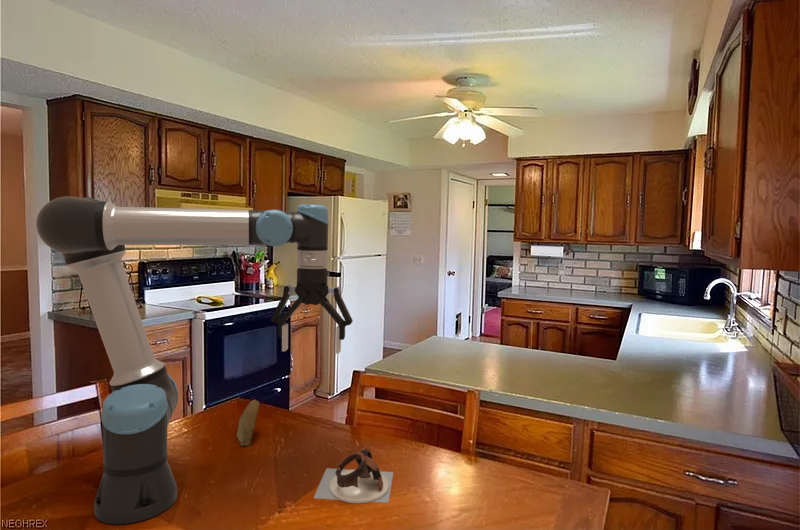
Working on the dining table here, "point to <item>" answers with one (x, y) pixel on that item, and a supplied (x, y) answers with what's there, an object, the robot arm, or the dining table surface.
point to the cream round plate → (359, 489)
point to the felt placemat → (329, 474)
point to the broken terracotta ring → (359, 470)
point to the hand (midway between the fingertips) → (311, 351)
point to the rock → (247, 423)
